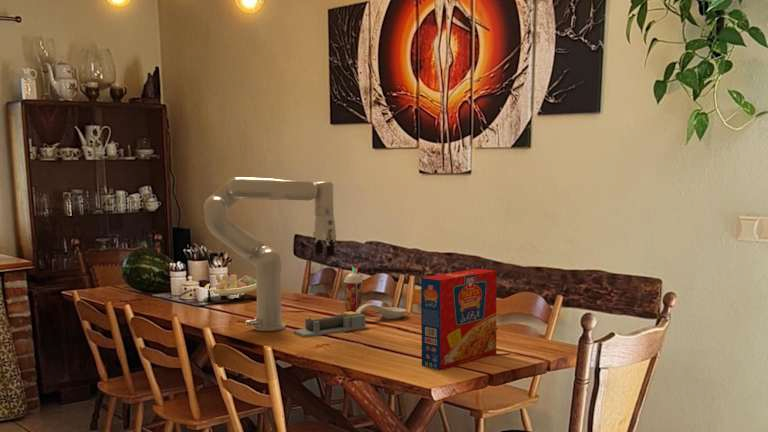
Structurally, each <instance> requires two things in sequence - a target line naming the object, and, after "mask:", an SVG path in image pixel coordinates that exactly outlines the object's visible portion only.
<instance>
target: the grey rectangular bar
mask: <svg viewBox="0 0 768 432" xmlns="http://www.w3.org/2000/svg"><path fill="white" fill-rule="evenodd" d="M342 313H343V316H338V317H335V316H330V317H324V318H316V319H311V320H309V321H308V322H307V327H308V330H309V331H313V322H315V321H319V324H320V329H327V328H334V327H340V326H343V318H344V317H349V327H350V317H353V316H358V313H355V312H352V311H350V312H347V311H343V312H342Z"/></svg>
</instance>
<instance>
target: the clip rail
mask: <svg viewBox="0 0 768 432" xmlns="http://www.w3.org/2000/svg"><path fill="white" fill-rule="evenodd" d="M355 313H356V312H355ZM338 316H343V312H342V313H340V314H339V313H337V314H334V317H338ZM366 319H367V318H366V315H365V314H362V313H361V314H359V313H358V316H353V317H350V327H349V317H344V318H343V326H340V327H334V328H327V329H320V324H319V321H315V322H313V331H309V330H308V327H307V322H308V321H309V320H312V318H311V317H309V318H304V321H305V322H304V325H305V326H304V327H305V328H301V329H300V328H299V329H293V334H295V335H298V336H299V337H302V338H309V337H315V336H321V335H329V334H335V333H340V332H341V333H343V332H348V331H355V330H361V329H366V326H367V324H366Z"/></svg>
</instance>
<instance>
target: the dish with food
mask: <svg viewBox="0 0 768 432" xmlns="http://www.w3.org/2000/svg"><path fill="white" fill-rule="evenodd" d="M215 278H216V280H217V282H218V283H219V282H220V283H219V284H218V285H216V286H215V287H216V289H209V286H210V283H207V284H206V285H204V287H203V288H206V289H208V290H209V291H213V292H214V293H215V294H219V295H218V296H221V297H226V296H230V295H238V294H240V295H242V293H243V294H247V293H249V292H252V291H254V290H256V278H253V277H251V276H249V275H243V276H242V277H241V278H240V279H239V275H237V274H236V273H234V274H230V275H229V276H228V274H227V273H224V274H223V276H220V274H219V273H218V274H215ZM227 288H228V289H227Z"/></svg>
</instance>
